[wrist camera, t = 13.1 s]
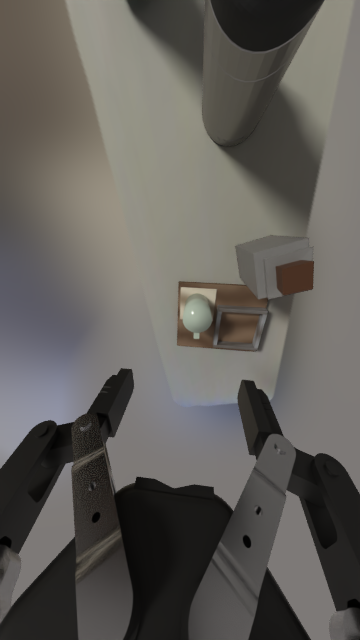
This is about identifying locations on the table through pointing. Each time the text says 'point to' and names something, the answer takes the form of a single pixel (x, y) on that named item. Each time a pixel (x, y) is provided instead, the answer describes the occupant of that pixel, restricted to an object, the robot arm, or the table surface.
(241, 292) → the wooden panel with label
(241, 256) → the perfume bottle
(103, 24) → the table surface
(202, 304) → the pale green rounded piece
